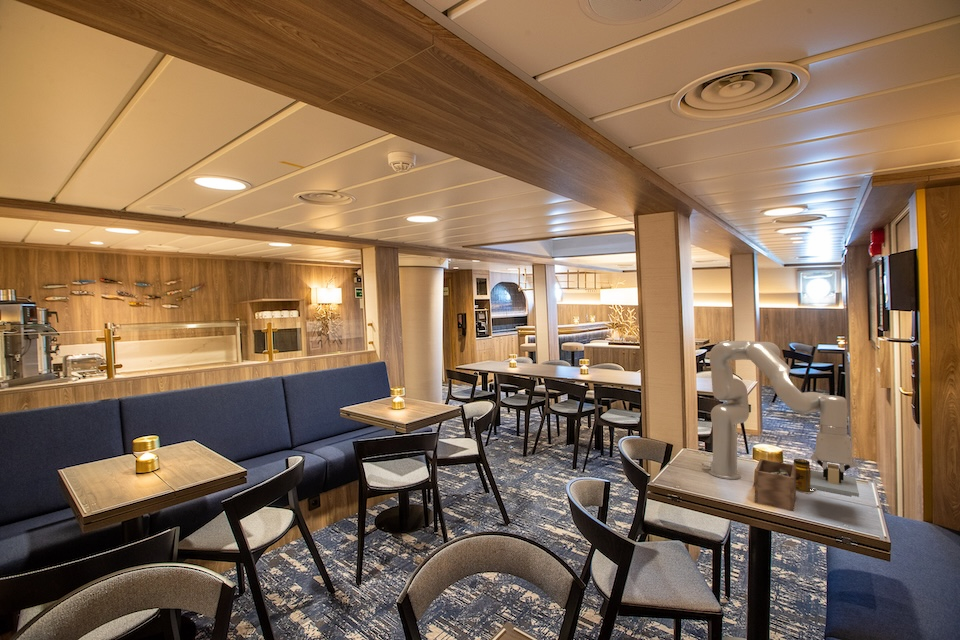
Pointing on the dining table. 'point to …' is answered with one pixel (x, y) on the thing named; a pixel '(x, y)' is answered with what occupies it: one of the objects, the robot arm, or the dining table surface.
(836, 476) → the lid
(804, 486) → the condiment
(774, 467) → the box
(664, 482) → the dining table surface
